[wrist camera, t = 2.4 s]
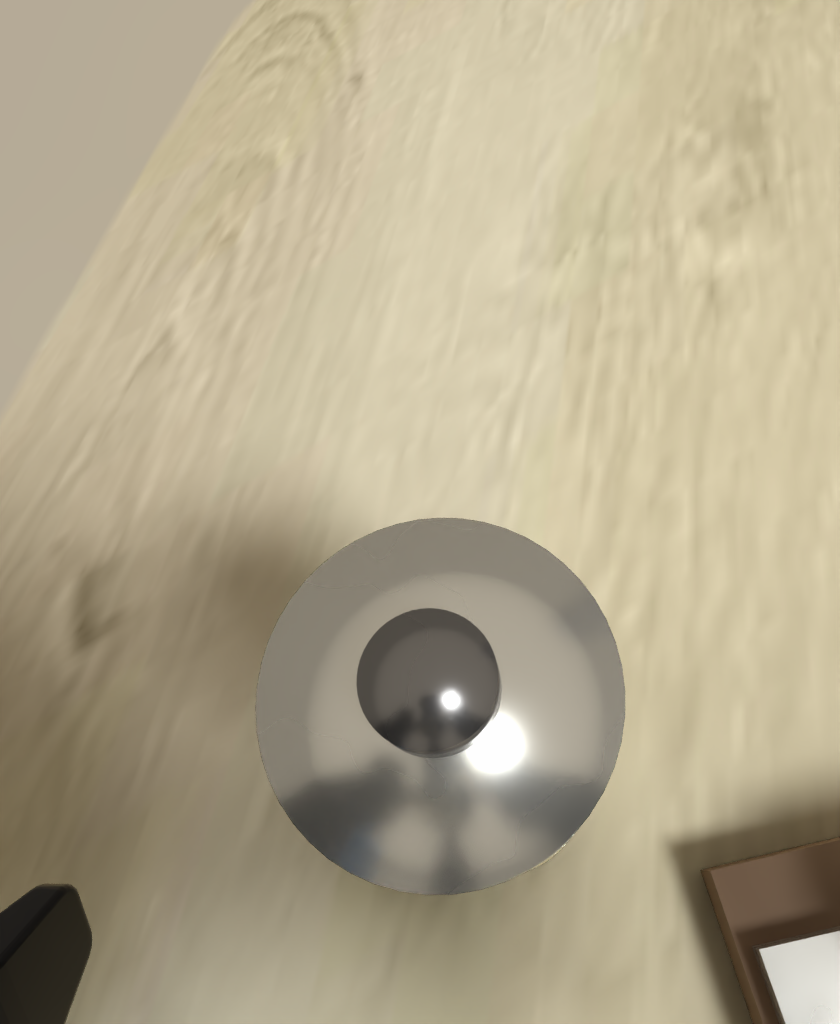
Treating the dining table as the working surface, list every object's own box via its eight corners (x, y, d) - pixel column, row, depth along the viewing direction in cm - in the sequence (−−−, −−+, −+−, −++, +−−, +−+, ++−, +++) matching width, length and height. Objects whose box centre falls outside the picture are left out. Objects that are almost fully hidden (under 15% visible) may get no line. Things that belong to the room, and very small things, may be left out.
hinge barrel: (429, 894, 18) (262, 943, 8) (393, 710, 20) (218, 550, 10) (611, 850, 18) (692, 839, 8) (557, 669, 20) (561, 458, 9)
